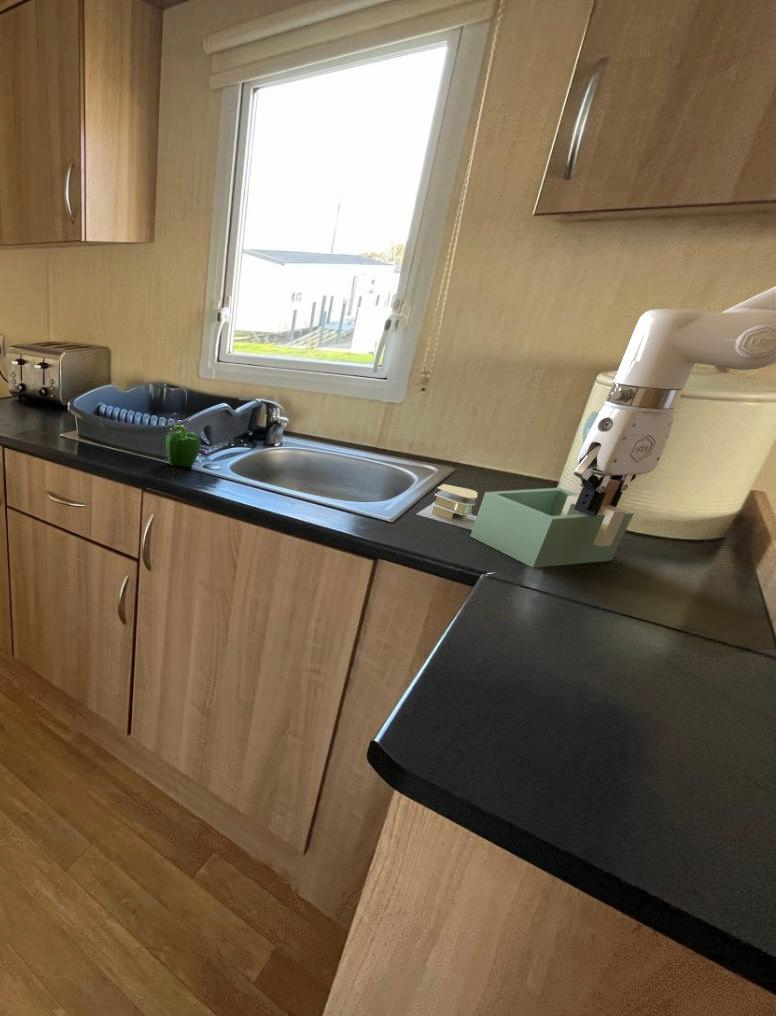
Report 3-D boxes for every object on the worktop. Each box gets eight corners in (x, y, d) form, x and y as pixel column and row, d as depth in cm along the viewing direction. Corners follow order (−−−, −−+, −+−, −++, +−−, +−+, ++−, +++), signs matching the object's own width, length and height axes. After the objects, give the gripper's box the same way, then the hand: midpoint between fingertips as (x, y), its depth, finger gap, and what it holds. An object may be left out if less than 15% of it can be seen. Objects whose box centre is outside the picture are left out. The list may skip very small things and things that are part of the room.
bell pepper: (200, 462, 140) (204, 423, 136) (194, 471, 133) (199, 431, 129) (168, 458, 143) (171, 420, 139) (161, 467, 136) (164, 427, 132)
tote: (542, 530, 105) (559, 487, 101) (611, 560, 94) (634, 513, 90) (469, 536, 102) (485, 491, 98) (532, 567, 91) (552, 519, 87)
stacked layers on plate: (415, 514, 111) (423, 488, 109) (431, 504, 116) (439, 479, 114) (472, 530, 104) (481, 503, 102) (486, 518, 110) (495, 493, 107)
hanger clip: (566, 527, 94) (589, 472, 90) (611, 545, 88) (637, 486, 84) (554, 528, 94) (577, 472, 90) (599, 546, 87) (625, 487, 83)
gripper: (626, 404, 77) (576, 524, 84) (714, 401, 80) (658, 518, 87) (572, 394, 83) (530, 506, 91) (655, 392, 86) (607, 501, 94)
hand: (593, 511), depth 89 cm, fingers closed on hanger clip, 2 cm apart
